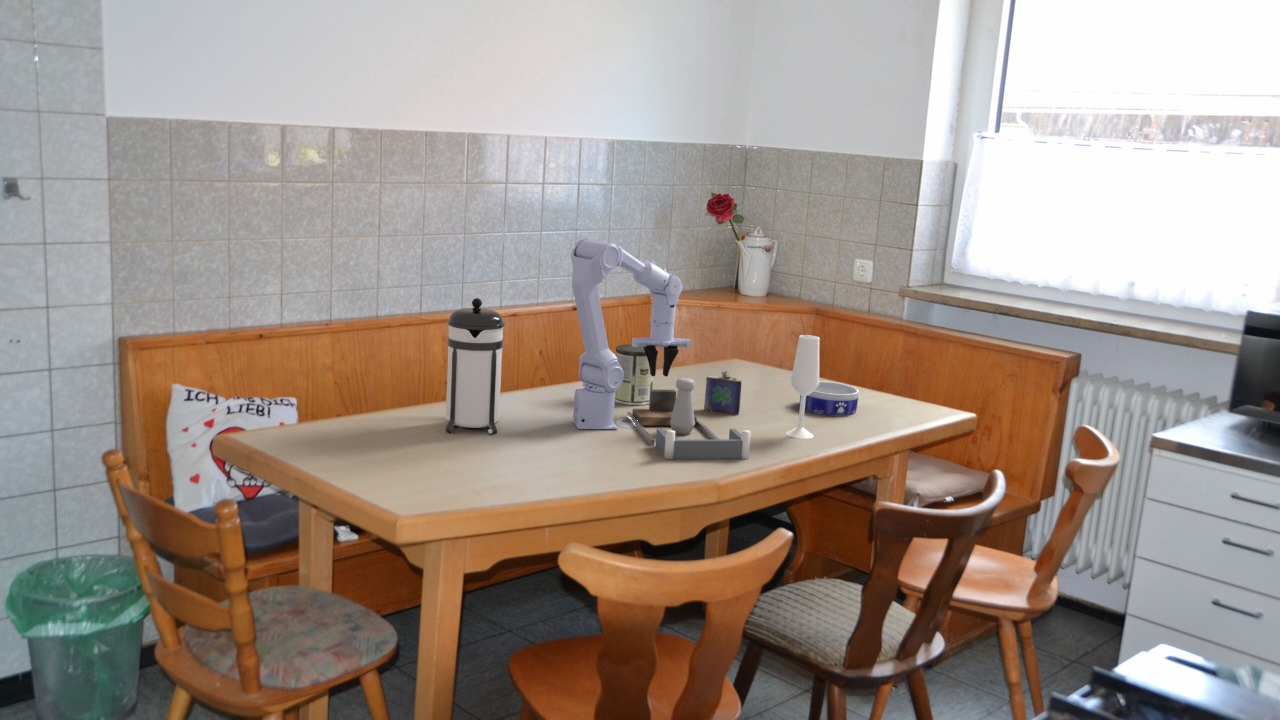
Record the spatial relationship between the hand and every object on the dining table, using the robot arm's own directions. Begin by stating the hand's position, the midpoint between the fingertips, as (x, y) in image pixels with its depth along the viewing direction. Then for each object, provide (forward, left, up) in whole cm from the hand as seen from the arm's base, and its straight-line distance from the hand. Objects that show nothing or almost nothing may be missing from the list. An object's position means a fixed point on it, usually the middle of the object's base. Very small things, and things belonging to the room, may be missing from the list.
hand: (659, 375), depth 273 cm
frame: (+2, -33, -10) cm, 34 cm away
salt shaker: (+2, -17, -10) cm, 19 cm away
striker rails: (0, -15, -10) cm, 18 cm away
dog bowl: (+49, +6, -10) cm, 51 cm away
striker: (0, -8, -10) cm, 12 cm away
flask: (+18, +2, -10) cm, 21 cm away
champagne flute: (+31, -19, -10) cm, 37 cm away
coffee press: (-47, -12, -10) cm, 49 cm away
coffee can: (-3, +13, -10) cm, 17 cm away
